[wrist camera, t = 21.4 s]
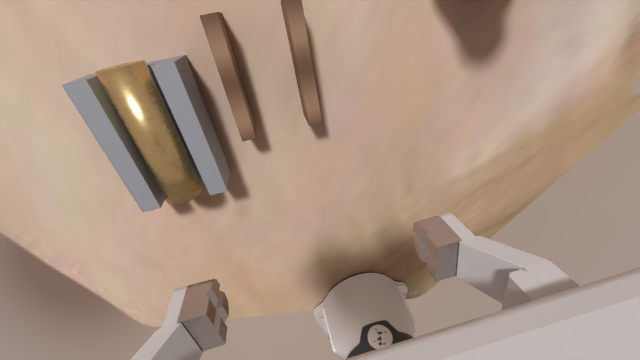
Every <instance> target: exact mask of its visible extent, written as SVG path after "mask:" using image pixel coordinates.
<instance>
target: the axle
mask: <svg viewBox="0 0 640 360" xmlns="http://www.w3.org/2000/svg"><path fill="white" fill-rule="evenodd" d="M96 74H97V76H98V78H99V80H100V81H101V83H102V85H103V87H104V89H105V90H106V92H107V94H108V96H109V97H110V99H111V101H112V103H113V105H114V106H115V108H116V110H117V112H118V114H119V115H120V117H121V119H122V121H123V122H124V124H125V126H126V128H127V130H128V131H129V133H130V135H131V137H132V139H133V140H134V142H135V144H136V146H137V147H138V149H139V151H140V153H141V155H142V156H143V158H144V160H145V162H146V164H147V165H148V167H149V169H150V171H151V172H152V174H153V176H154V178H155V180H156V181H157V183H158V185H159V187H160V189H161V190H162V192H163V194H164V196H165V197H166V199H167V201H168V203H170V204H182V203H185V202H188V201H190V200H192V199H194V198H196V197H197V196H198V195H199V194H200V193H201V192H202V191H203V186H202V183H201V181H200V179H199V177H198V175H197V173H196V170H195V168H194V166H193V164H192V162H191V160H190V157H189V155H188V153H187V151H186V149H185V147H184V144H183V142H182V140H181V138H180V136H179V134H178V131H177V129H176V127H175V125H174V123H173V121H172V119H171V116H170V114H169V112H168V110H167V108H166V106H165V103H164V101H163V99H162V97H161V95H160V93H159V90H158V88H157V86H156V84H155V82H154V80H153V77H152V75H151V73H150V71H149V69H148V67H147V64H146V62H145V61H144V60H143V61H136V62H131V63H126V64H121V65H117V66H113V67H109V68H105V69H102V70H98V71H96Z"/></svg>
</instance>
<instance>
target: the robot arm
mask: <svg viewBox="0 0 640 360" xmlns="http://www.w3.org/2000/svg"><path fill="white" fill-rule="evenodd" d="M413 230H414V232H415V233H416V235H415V237H414V238H413V239H414V247H415V250H416V252H417V254H418V256H419V258H420V259H421V260H422V261H424V262H426V263H427V269H428V271H429V272H430V274H431V275H432V277H433V278H434V279H435V281H439V280H442V279H446V278H450V277H454V276H456V277H458V278H459V279H461V280H463V281H464V282H466V283H468V284H470V285H472V286H473V287H475V288H476V289H478V290H480V291H481V292H483V293H485V294H487V295H488V296H490V297H492V298H493V299H495V300H497V301H499V302H500V303H502V304H503V305H502V310H501V311H498V312H495V313H492V314H488V315H485V316H482V317H479V318H476V319H473V320H469V321H466V322H463V323H460V324H457V325H453V326H450V327H447V328H444V329H440V330H437V331H434V332H431V333H427V334H424V335H421V336H418V337H415V338H413V334H414V333H415V328H416V322H415V320H414V318H413V316H412V314H411V311H410V309H409V307H408V305H407V303H406V301H405V299H406V295H407V291H408V288H407V286H406V284H405V283H403V282H397V281H393V280H392V279H390V278H389V277H387V276H385V275H383V274H378V273H364V274H359V275H356V276H353V277H350V278H348V279H346V280H344V281H342V282H340V283H339V284H338V285H336V286H335V287H334V288H333V289H332V290H331V291H330V292H329V293H328V295H327V297H326V298H325V300H324V301H323V302H322V303H321V304H320V305H318V306H317V307H316V308H315V309H314V310H313V315H314V318H315V319H316V321H317V322H318V323H319V325H320V326H321V328H322V329H323V331H324V332H325V333H326V335H327V336H328V338H329V339H330V341H331V345H332V349H333V351H334V352H336V353H337V355H338V356H339V357H340V358H341V359H342V360H640V268H636V269H633V270H630V271H627V272H624V273H620V274H617V275H614V276H611V277H607V278H604V279H601V280H598V281H595V282H591V283H588V284H585V285H582V286H579V285H578V284H577V283H575V282H574V281H573V280H572V279H571V278H570V277H568V276H567V275H566V274H565V273H563V272H562V271H561V270H560V269H558V268H557V267H556V266H555V265H554V264H552V263H551V262H550V261H549V260H546V259H544V258H541V257H538V256H535V255H532V254H529V253H527V252H524V251H521V250H518V249H515V248H512V247H509V246H507V245H504V244H501V243H498V242H495V241H492V240H489V239H487V238H484V237H481V236H478V237H476V236H475V235H474V234H472V233H471V232H470V231H469V230H468V229H467V228H466V227H465V226H464V225H463V224H462V223H461V222H460V221H459V220H458V219H457V218H456V217H455V216H454V215H453V214H452V213H450V212H448V213H444V214H441V215H438V216H434V217H431V218H428V219H424V220H421V221H417V222H414V224H413ZM219 288H220V284H219V283H218V281H217V279H212V280H208V281H204V282H200V283H196V284H193V285H189V286H186V287H182V288H178V289H176V290H175V291H174V292H173V294H172V297H171V300H170V303H169V307H168V310H167V313H166V316H165V319H164V322H163V325H162V328H160V329H157V331H156V332H155V333H154V334H153V335H152V336H151V337H150V338H149V340H148V341H147V342H146V343H145V344H144V345H143V346H142V347H141V349H140V350H139V351H138V352H137V353H136V354H135V355H134V357H133V358H132V359H131V360H199V359H200V357H201V355H202V354H203V351H205V350H209V349H212V348H215V347H218V346H221V345H224V344H225V342H226V333H227V326H226V325H225V323H224V322H225V321H226V319H227V318H228V314H229V306H228V300H227V297H226V295H225V293H224V292H222V291H220V290H219Z"/></svg>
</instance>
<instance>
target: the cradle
mask: <svg viewBox="0 0 640 360" xmlns="http://www.w3.org/2000/svg"><path fill="white" fill-rule="evenodd" d="M146 64H147V67H148V69H149V71H150V73H151V75H152V77H153V80H154V82H155V84H156V86H157V88H158V90H159V93H160V95H161V97H162V99H163V101H164V103H165V106H166V108H167V110H168V112H169V114H170V116H171V119H172V121H173V123H174V125H175V127H176V129H177V131H178V134H179V136H180V138H181V140H182V142H183V144H184V147H185V149H186V151H187V153H188V155H189V157H190V160H191V162H192V164H193V166H194V168H195V170H196V173H197V175H198V177H199V179H200V181H201V183H202V185H204V184H205V186H206V188H207V190H208V192H209V194H210V195H214V194H218V193H222V192H226V191H228V185H229V178H230V168H229V166H228V163H227V160H226V158H225V155H224V153H223V150H222V147H221V145H220V142H219V140H218V137H217V135H216V132H215V129H214V127H213V124H212V122H211V119H210V117H209V114H208V111H207V109H206V106H205V104H204V101H203V99H202V96H201V93H200V91H199V88H198V86H197V83H196V81H195V78H194V75H193V73H192V70H191V68H190V65H189V63H188V60H187V57H186V55H183V56H178V57H173V58H169V59H164V60H159V61H154V62H149V63H146ZM62 86H63V88H64V89H65V91H66V93H67V94H68V96H69V97H70V99H71V100H72V102H73V104H74V105H75V107H76V108H77V110H78V111H79V113H80V115H81V116H82V118H83V119H84V121H85V122H86V124H87V126H88V127H89V129H90V130H91V132H92V133H93V135H94V137H95V138H96V140H97V141H98V143H99V144H100V146H101V148H102V149H103V151H104V152H105V154H106V156H107V157H108V159H109V160H110V162H111V163H112V165H113V167H114V168H115V170H116V171H117V173H118V174H119V176H120V178H121V179H122V181H123V182H124V184H125V185H126V187H127V189H128V190H129V192H130V193H131V195H132V196H133V198H134V200H135V201H136V203H137V204H138V206H139V207H140V209H141V211H142V212H146V211H150V210H154V209H158V208H161V206H162V204H163V202H164V200H165V198H166V197H165V196H164V194H163V192H162V190H161V189H160V187H159V185H158V183H157V181H156V180H155V178H154V176H153V174H152V172H151V171H150V169H149V167H148V165H147V164H146V162H145V160H144V158H143V156H142V155H141V153H140V151H139V149H138V147H137V146H136V144H135V142H134V140H133V139H132V137H131V135H130V133H129V131H128V130H127V128H126V126H125V124H124V122H123V121H122V119H121V117H120V115H119V114H118V112H117V110H116V108H115V106H114V105H113V103H112V101H111V99H110V97H109V96H108V94H107V92H106V90H105V89H104V87H103V85H102V83H101V81H100V80H99V78H98V76H97V74H91V75H88V76H85V77H83V78H80V79H77V80H74V81H72V82H69V83H66V84H63V85H62Z"/></svg>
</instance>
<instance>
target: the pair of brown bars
mask: <svg viewBox="0 0 640 360" xmlns="http://www.w3.org/2000/svg"><path fill="white" fill-rule="evenodd" d="M281 5H282V10H283V15H284V20H285V25H286V30H287V35H288V40H289V44H290V49H291V54H292V59H293V64H294V69H295V74H296V79H297V84H298V88H299V93H300V98H301V103H302V108H303V113H304V116H305V118H306V120H307V122H308V124H309V126H310V125H314V124H318V123H322V117H321V111H320V106H319V100H318V94H317V88H316V82H315V77H314V71H313V65H312V59H311V53H310V47H309V42H308V36H307V30H306V24H305V18H304V13H303V7H302V1H301V0H282V1H281ZM200 18H201V21H202V24H203V27H204V30H205V33H206V36H207V39H208V42H209V45H210V48H211V51H212V54H213V56H214V59H215V62H216V65H217V68H218V71H219V74H220V77H221V80H222V83H223V86H224V89H225V92H226V95H227V98H228V100H229V103H230V106H231V109H232V112H233V115H234V118H235V121H236V124H237V127H238V130H239V133H240V136H241V139H242V141H246V140H251V139H255V138H256V125H255V122H254V118H253V115H252V112H251V109H250V105H249V102H248V99H247V95H246V92H245V89H244V86H243V82H242V79H241V76H240V72H239V69H238V66H237V63H236V59H235V56H234V53H233V49H232V46H231V43H230V40H229V36H228V33H227V30H226V26H225V23H224V20H223V17H222V13H219V12H216V13H211V14H206V15H201V16H200Z"/></svg>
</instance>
